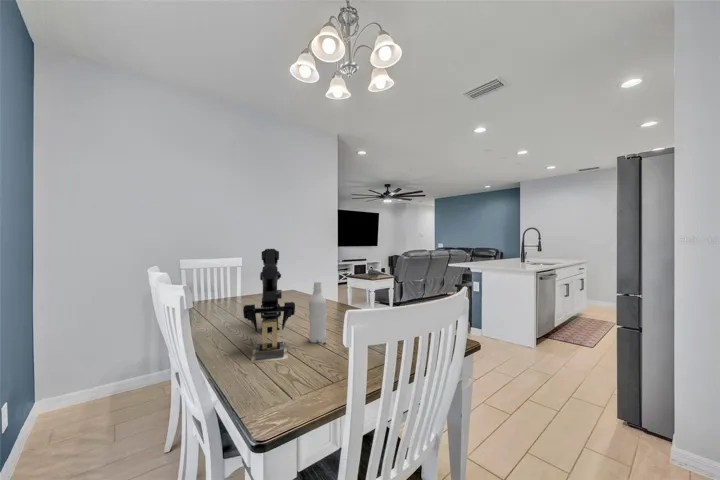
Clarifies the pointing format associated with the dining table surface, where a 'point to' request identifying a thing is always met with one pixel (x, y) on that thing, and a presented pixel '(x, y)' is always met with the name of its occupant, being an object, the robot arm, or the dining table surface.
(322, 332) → the water bottle
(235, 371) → the dining table surface
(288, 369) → the dining table surface
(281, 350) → the grey square tray
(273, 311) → the robot arm
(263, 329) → the brass link
